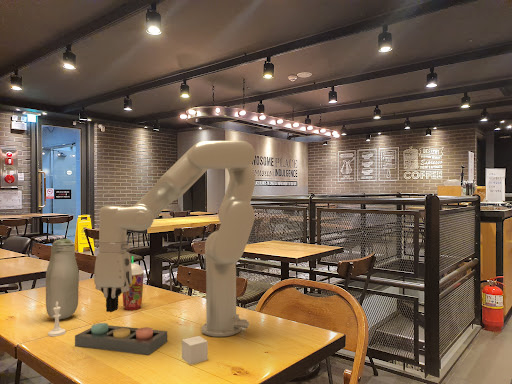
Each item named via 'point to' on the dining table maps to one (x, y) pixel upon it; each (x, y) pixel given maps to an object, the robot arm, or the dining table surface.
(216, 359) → the dining table surface
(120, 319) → the dining table surface
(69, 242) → the grey bottle
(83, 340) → the button panel
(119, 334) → the mustard button
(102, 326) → the teal button
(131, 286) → the smoothie
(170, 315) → the dining table surface
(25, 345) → the dining table surface
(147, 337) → the brick button
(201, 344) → the white cube
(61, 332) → the chess piece
